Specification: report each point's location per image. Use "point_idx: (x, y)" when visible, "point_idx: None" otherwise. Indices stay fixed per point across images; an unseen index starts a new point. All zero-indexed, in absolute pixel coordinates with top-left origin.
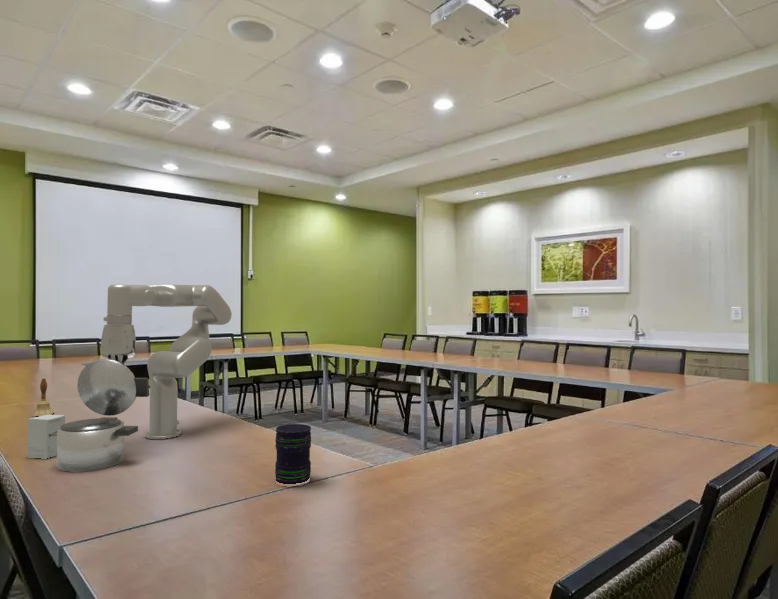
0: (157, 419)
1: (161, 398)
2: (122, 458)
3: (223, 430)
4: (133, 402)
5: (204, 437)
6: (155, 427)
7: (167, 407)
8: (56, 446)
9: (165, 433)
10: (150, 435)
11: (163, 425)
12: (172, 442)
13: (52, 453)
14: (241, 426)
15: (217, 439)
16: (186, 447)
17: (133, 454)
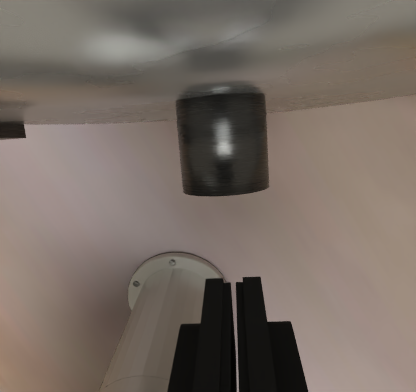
0: (165, 300)
1: (130, 366)
2: None
3: (48, 351)
4: (73, 123)
5: (52, 285)
6: (177, 283)
7: (123, 342)
8: None
9: (151, 277)
10: (195, 267)
11: (150, 290)
12: (108, 230)
13: None
14: (27, 388)
15: (4, 269)
16: (33, 184)
17: None
